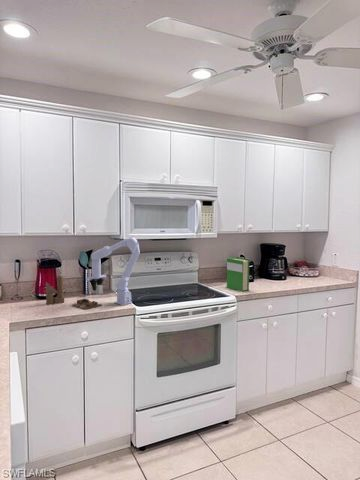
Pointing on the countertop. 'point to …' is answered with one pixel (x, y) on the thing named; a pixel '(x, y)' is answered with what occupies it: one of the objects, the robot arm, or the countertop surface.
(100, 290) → the light gray block
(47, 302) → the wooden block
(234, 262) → the hardback book
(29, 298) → the countertop surface
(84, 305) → the rack
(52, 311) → the countertop surface
